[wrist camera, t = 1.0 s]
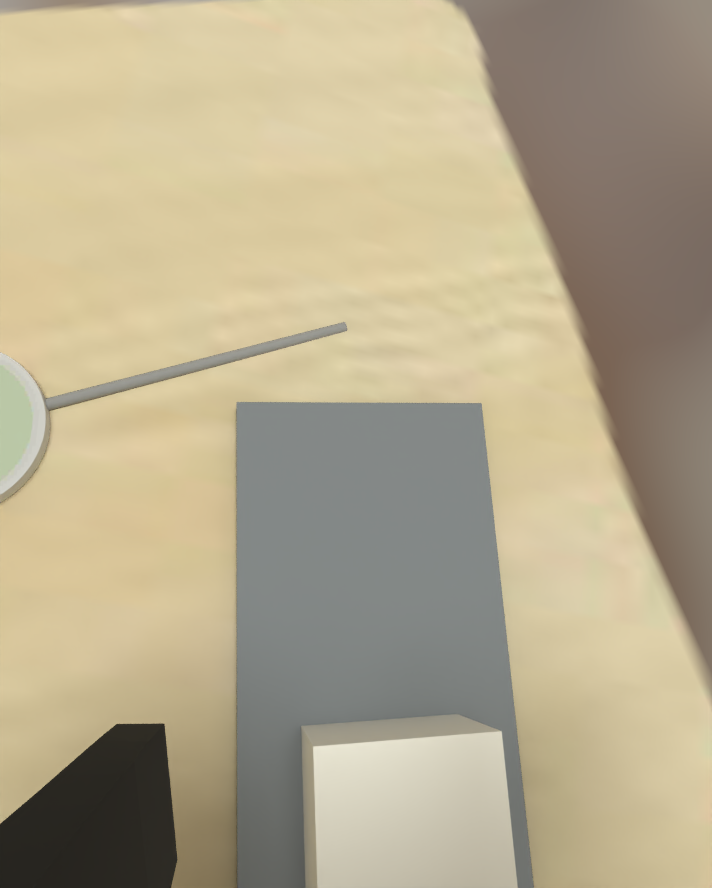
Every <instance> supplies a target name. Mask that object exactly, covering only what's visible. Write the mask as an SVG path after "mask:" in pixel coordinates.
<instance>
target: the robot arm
mask: <svg viewBox="0 0 712 888" xmlns="http://www.w3.org/2000/svg"><path fill="white" fill-rule="evenodd" d="M176 863H177V851H176V841H175V830H174V820H173V809H172V799H171V788H170V778H169V768H168V757H167V747H166V736H165V726H164V724H116V725H115V726H114V727H113V728H111V729H110V730H109V731H108V732H106V733H105V734H104V735H103V736H102V737H100V738H99V739H98V740H97V741H96V742H95V743H93V744H92V745H91V746H90V747H89V748H88V749H86V750H85V751H84V752H83V753H82V754H81V755H80V756H78V757H77V758H76V759H75V760H74V761H73V762H72V763H70V764H69V765H68V766H67V767H66V768H65V769H64V770H62V771H61V772H60V773H59V774H58V775H57V776H56V777H54V778H53V779H52V780H51V781H50V782H49V783H48V784H46V785H45V786H44V787H43V788H42V789H41V790H39V791H38V792H37V793H36V794H35V795H34V796H32V797H31V798H30V799H29V800H28V801H27V802H25V803H24V804H23V805H22V806H21V807H20V808H18V809H17V810H16V811H15V812H14V813H13V814H11V815H10V816H9V817H8V818H7V819H6V820H4V821H3V822H2V823H1V824H0V888H171V885H172V880H173V876H174V872H175V867H176Z"/></svg>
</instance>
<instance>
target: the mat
mask: <svg viewBox="0 0 712 888" xmlns="http://www.w3.org/2000/svg"><path fill="white" fill-rule="evenodd" d="M451 714H458V715H461V716H464V717H466V718H469V719H471V720H474V721H477V722H479V723H482V724H484V725H487V726H490V727H492V728H495V729H497V730H500V731H502V739H503V749H504V758H505V768H506V778H507V788H508V797H509V807H510V817H511V827H512V837H513V846H514V856H515V866H516V876H517V885H518V888H534V885H533V876H532V866H531V857H530V848H529V839H528V829H527V820H526V811H525V802H524V792H523V783H522V774H521V765H520V755H519V746H518V737H517V728H516V718H515V709H514V700H513V691H512V682H511V672H510V663H509V654H508V645H507V635H506V626H505V617H504V608H503V598H502V589H501V580H500V571H499V561H498V552H497V543H496V534H495V524H494V515H493V506H492V497H491V487H490V478H489V469H488V460H487V450H486V441H485V432H484V423H483V413H482V404H481V403H295V402H237V888H305V852H304V813H303V774H302V736H301V726H307V725H320V724H333V723H346V722H359V721H373V720H386V719H399V718H412V717H425V716H438V715H451Z"/></svg>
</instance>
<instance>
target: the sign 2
mask: <svg viewBox="0 0 712 888" xmlns="http://www.w3.org/2000/svg"><path fill="white" fill-rule="evenodd" d="M344 331H347V326H346V324H345V322H343V323H339V324H335V325H331V326H327V327H323V328H319V329H315V330H312V331H308V332H304V333H300V334H296V335H292V336H288V337H284V338H280V339H276V340H273V341H269V342H265V343H261V344H257V345H253V346H249V347H245V348H241V349H238V350H234V351H230V352H226V353H222V354H218V355H214V356H210V357H206V358H202V359H199V360H195V361H191V362H187V363H183V364H179V365H175V366H171V367H167V368H164V369H160V370H156V371H152V372H148V373H144V374H140V375H136V376H132V377H128V378H125V379H121V380H117V381H113V382H109V383H105V384H101V385H97V386H93V387H90V388H86V389H82V390H78V391H74V392H70V393H66V394H62V395H58V396H55V397H51V398H47V399H45V397H44V395H43V393H42V391H41V389H40V387H39V386H38V384H37V383H36V382H35V380H34V379H33V378H32V377H31V375H30V374H29V373H28V372H27V371H26V370H25V369H24V368H23V367H22V366H21V365H20V364H19V363H17V362H16V361H15V360H13V359H12V358H10V357H9V356H7V355H5V354H3V353H1V352H0V503H1V502H2V501H4V500H6V499H7V498H9V497H10V496H11V495H13V494H14V493H15V492H16V491H18V490H19V489H20V488H21V487H22V486H23V485H24V484H25V483H26V482H27V481H28V480H29V479H30V477H31V476H32V475H33V473H34V472H35V471H36V469H37V468H38V466H39V464H40V462H41V460H42V458H43V456H44V454H45V451H46V448H47V445H48V441H49V435H50V415H49V410H53V409H57V408H61V407H65V406H69V405H72V404H76V403H80V402H84V401H88V400H92V399H95V398H99V397H103V396H107V395H110V394H114V393H118V392H122V391H126V390H129V389H133V388H137V387H141V386H144V385H148V384H152V383H156V382H159V381H163V380H167V379H171V378H175V377H178V376H182V375H186V374H190V373H193V372H197V371H201V370H204V369H208V368H212V367H216V366H219V365H223V364H227V363H230V362H234V361H238V360H242V359H245V358H249V357H253V356H256V355H260V354H264V353H268V352H271V351H275V350H279V349H282V348H286V347H290V346H293V345H297V344H301V343H304V342H308V341H312V340H315V339H319V338H323V337H326V336H330V335H333V334H337V333H341V332H344Z"/></svg>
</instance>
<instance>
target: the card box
mask: <svg viewBox="0 0 712 888" xmlns="http://www.w3.org/2000/svg"><path fill="white" fill-rule="evenodd" d="M301 736H302V774H303V813H304V852H305V888H518V885H517V876H516V866H515V856H514V846H513V837H512V827H511V817H510V807H509V797H508V788H507V778H506V768H505V758H504V749H503V739H502V731H500V730H497V729H495V728H492V727H490V726H487V725H484V724H482V723H479V722H477V721H474V720H471V719H469V718H466V717H464V716H461V715H458V714H451V715H438V716H425V717H412V718H399V719H386V720H373V721H359V722H346V723H333V724H320V725H307V726H301Z"/></svg>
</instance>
